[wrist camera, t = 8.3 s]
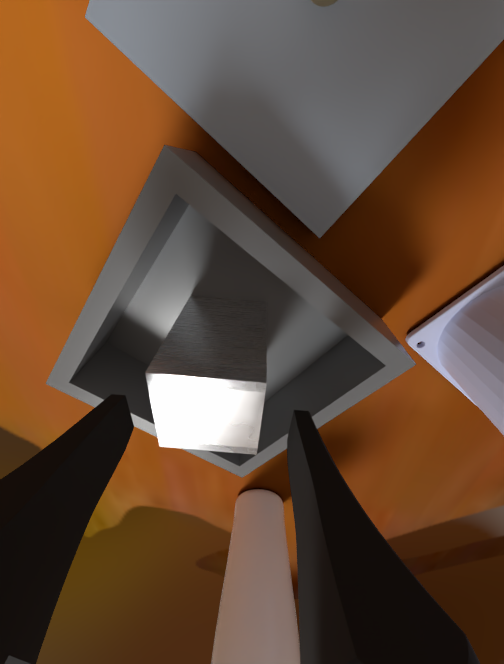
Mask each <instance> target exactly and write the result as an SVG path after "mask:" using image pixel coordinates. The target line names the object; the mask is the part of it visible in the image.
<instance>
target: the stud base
mask: <svg viewBox="0 0 504 664" xmlns="http://www.w3.org/2000/svg"><path fill="white" fill-rule="evenodd" d="M85 18H86V19H87V20H89V21H90V22H91V23H92V24H93V25H94V26H95V27H96V28H97V29H98V30H99V31H100V32H101V33H102V34H103V35H104V36H105V37H107V38H108V39H109V40H110V41H111V42H112V43H113V44H114V45H115V46H116V47H117V48H118V49H119V50H120V51H121V52H122V53H124V54H125V55H126V56H127V57H128V58H129V59H130V60H131V61H132V62H133V63H134V64H135V65H136V66H137V67H138V68H139V69H140V70H142V71H143V72H144V73H145V74H146V75H147V76H148V77H149V78H150V79H151V80H152V81H153V82H154V83H155V84H156V85H157V86H159V87H160V88H161V89H162V90H163V91H164V92H165V93H166V94H167V95H168V96H169V97H170V98H171V99H172V100H173V101H174V102H176V103H177V104H178V105H179V106H180V107H181V108H182V109H183V110H184V111H185V112H186V113H187V114H188V115H189V116H190V117H191V118H192V119H194V120H195V121H196V122H197V123H198V124H199V125H200V126H201V127H202V128H203V129H204V130H205V131H206V132H207V133H208V134H209V135H211V136H212V137H213V138H214V139H215V140H216V141H217V142H218V143H219V144H220V145H221V146H222V147H223V148H224V149H225V150H226V151H228V152H229V153H230V154H231V155H232V156H233V157H234V158H235V159H236V160H237V161H238V162H239V163H240V164H241V165H242V166H243V167H244V168H246V169H247V170H248V171H249V172H250V173H251V174H252V175H253V176H254V177H255V178H256V179H257V180H258V181H259V182H260V183H261V184H263V185H264V186H265V187H266V188H267V189H268V190H269V191H270V192H271V193H272V194H273V195H274V196H275V197H276V198H277V199H278V200H280V201H281V202H282V203H283V204H284V205H285V206H286V207H287V208H288V209H289V210H290V211H291V212H292V213H293V214H294V215H295V216H296V217H298V218H299V219H300V220H301V221H302V222H303V223H304V224H305V225H306V226H307V227H308V228H309V229H310V230H311V231H312V232H313V233H315V234H316V235H317V236H318V237H319V238H321V237H322V235H323V234H324V233H325V232H326V231H327V230H328V229H329V228H330V227H331V226H332V225H333V224H334V222H335V221H336V220H337V219H338V218H339V217H340V216H341V215H342V214H343V213H344V212H345V211H346V209H347V208H348V207H349V206H350V205H351V204H352V203H353V202H354V201H355V200H356V199H357V198H358V197H359V195H360V194H361V193H362V192H363V191H364V190H365V189H366V188H367V187H368V186H369V185H370V184H371V182H372V181H373V180H374V179H375V178H376V177H377V176H378V175H379V174H380V173H381V172H382V171H383V169H384V168H385V167H386V166H387V165H388V164H389V163H390V162H391V161H392V160H393V159H394V158H395V156H396V155H397V154H398V153H399V152H400V151H401V150H402V149H403V148H404V147H405V146H406V145H407V144H408V142H409V141H410V140H411V139H412V138H413V137H414V136H415V135H416V134H417V133H418V132H419V131H420V129H421V128H422V127H423V126H424V125H425V124H426V123H427V122H428V121H429V120H430V119H431V118H432V116H433V115H434V114H435V113H436V112H437V111H438V110H439V109H440V108H441V107H442V106H443V105H444V103H445V102H446V101H447V100H448V99H449V98H450V97H451V96H452V95H453V94H454V93H455V92H456V90H457V89H458V88H459V87H460V86H461V85H462V84H463V83H464V82H465V81H466V80H467V79H468V78H469V76H470V75H471V74H472V73H473V72H474V71H475V70H476V69H477V68H478V67H479V66H480V65H481V63H482V62H483V61H484V60H485V59H486V58H487V57H488V56H489V55H490V54H491V53H492V52H493V50H494V49H495V48H496V47H497V46H498V45H499V44H500V43H501V42H502V41H503V40H504V0H90V1H89V4H88V8H87V11H86V15H85Z"/></svg>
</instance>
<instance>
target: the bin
mask: <svg viewBox="0 0 504 664" xmlns="http://www.w3.org/2000/svg"><path fill="white" fill-rule="evenodd" d="M190 295H192V296H203V297H215V298H226V299H238V300H250V301H261V302H266V326H267V385H266V392H265V399H264V406H263V413H262V420H261V427H260V435H259V442H258V449H257V455H254V454H242V453H231V452H219V451H207V450H196V449H184V448H181V449H183V450H185V451H188V452H190V453H192V454H194V455H196V456H198V457H200V458H202V459H204V460H206V461H209V462H211V463H213V464H215V465H217V466H219V467H221V468H223V469H225V470H227V471H229V472H232V473H234V474H236V475H238V476H240V477H244V476H245V475H247V474H248V473H250V472H251V471H253V470H254V469H256V468H258V467H259V466H261V465H262V464H264V463H265V462H267V461H268V460H270V459H271V458H273V457H274V456H276V455H278V454H279V453H281V452H282V451H284V450H285V449H287V438H288V433H289V429H290V425H291V420H292V416H293V411H294V410H303V411H309V412H310V414H311V416H312V419H313V421H314V423H315V426H316V428H317V429H318V428H319V427H321V426H322V425H324V424H325V423H327V422H328V421H330V420H331V419H333V418H334V417H336V416H338V415H339V414H341V413H342V412H344V411H345V410H347V409H348V408H350V407H351V406H353V405H354V404H356V403H357V402H359V401H361V400H362V399H364V398H365V397H367V396H368V395H370V394H371V393H373V392H374V391H376V390H377V389H379V388H381V387H382V386H384V385H385V384H387V383H388V382H390V381H391V380H393V379H394V378H396V377H397V376H399V375H401V374H402V373H404V372H405V371H407V370H408V369H410V368H411V367H413V366H414V365H416V363H415V362H414V361H413V360H412V358H411V357H410V356H409V354H408V353H407V352H406V350H405V349H404V348H403V346H402V345H401V344H400V342H399V341H398V340H397V339H396V337H395V336H394V335H393V333H392V332H391V331H390V329H389V328H388V327H387V325H386V324H385V323H384V322H383V320H382V319H381V318H380V317H379V316H378V315H377V314H375V313H374V312H373V311H372V310H371V309H370V308H369V307H368V306H367V305H365V304H364V303H363V302H362V301H361V300H360V299H359V298H358V297H357V296H355V295H354V294H353V293H352V292H351V291H350V290H349V289H348V288H347V287H345V286H344V285H343V284H342V283H341V282H340V281H339V280H338V279H337V278H335V277H334V276H333V275H332V274H331V273H330V272H329V271H328V270H327V269H325V268H324V267H323V266H322V265H321V264H320V263H319V262H318V261H317V260H315V259H314V258H313V257H312V256H311V255H310V254H309V253H308V252H307V251H305V250H304V249H303V248H302V247H301V246H300V245H299V244H298V243H297V242H295V241H294V240H293V239H292V238H291V237H290V236H289V235H288V234H287V233H285V232H284V231H283V230H282V229H281V228H280V227H279V226H278V225H277V224H275V223H274V222H273V221H272V220H271V219H270V218H269V217H268V216H267V215H265V214H264V213H263V212H262V211H261V210H260V209H259V208H258V207H257V206H255V205H254V204H253V203H252V202H251V201H250V200H249V199H248V198H247V197H245V196H244V195H243V194H242V193H241V192H240V191H239V190H238V189H237V188H236V187H234V186H233V185H232V184H231V183H230V182H229V181H228V180H227V179H226V178H224V177H223V176H222V175H221V174H220V173H219V172H218V171H217V170H216V169H214V168H213V167H212V166H211V165H210V164H209V163H208V162H207V161H206V160H204V159H203V158H202V157H201V156H200V155H199V154H198V153H197V152H194V151H190V150H185V149H181V148H176V147H172V146H167V145H164V147H163V149H162V151H161V153H160V155H159V157H158V159H157V161H156V163H155V165H154V167H153V169H152V171H151V173H150V175H149V177H148V179H147V181H146V183H145V185H144V187H143V189H142V191H141V193H140V195H139V197H138V199H137V201H136V203H135V205H134V207H133V209H132V211H131V213H130V215H129V217H128V219H127V221H126V223H125V225H124V227H123V229H122V231H121V233H120V235H119V237H118V239H117V241H116V243H115V245H114V247H113V249H112V251H111V253H110V255H109V257H108V259H107V261H106V263H105V265H104V267H103V269H102V271H101V273H100V276H99V278H98V280H97V282H96V284H95V286H94V288H93V290H92V292H91V294H90V296H89V298H88V300H87V302H86V304H85V306H84V308H83V310H82V312H81V314H80V316H79V318H78V320H77V322H76V324H75V326H74V328H73V330H72V332H71V334H70V336H69V338H68V340H67V342H66V344H65V346H64V348H63V350H62V352H61V354H60V356H59V358H58V360H57V362H56V364H55V366H54V368H53V370H52V372H51V374H50V376H49V378H48V380H47V382H46V384H47V385H49V386H51V387H54V388H56V389H58V390H60V391H62V392H64V393H66V394H68V395H70V396H72V397H74V398H77V399H79V400H81V401H83V402H85V403H87V404H89V405H91V406H93V407H96V406H98V405H99V404H100V403H101V402H102V401H104V400H105V399H106V398H107V397H109V396H110V395H111V394H117V395H126V399H127V402H128V406H129V410H130V413H131V417H132V421H133V424H134V426H135V427H137V428H139V429H141V430H144V431H146V432H148V433H150V434H152V435H154V436H156V437H158V436H157V431H156V426H155V421H154V415H153V410H152V405H151V400H150V395H149V390H148V385H147V380H146V374H145V372H146V370H147V369H148V367H149V365H150V364H151V362H152V360H153V358H154V357H155V355H156V353H157V352H158V350H159V348H160V347H161V345H162V343H163V341H164V340H165V338H166V336H167V335H168V333H169V331H170V330H171V328H172V326H173V324H174V323H175V321H176V319H177V318H178V316H179V314H180V313H181V311H182V309H183V307H184V306H185V304H186V302H187V301H188V299H189V297H190Z"/></svg>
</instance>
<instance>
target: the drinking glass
mask: <svg viewBox="0 0 504 664" xmlns="http://www.w3.org/2000/svg"><path fill="white" fill-rule="evenodd" d="M211 664H300V645H299V636H298V628H297V620H296V612H295V604H294V596H293V588H292V580H291V572H290V564H289V556H288V548H287V539H286V531H285V522H284V506H283V501H282V499H281V498H280V497H279V496H278V495H277V494H276V493H274V492H271V491H268V490H263V489H252V490H248V491H245V492H243V493H242V494H240V495H239V496H238V498H237V500H236V504H235V514H234V522H233V529H232V535H231V542H230V548H229V554H228V560H227V566H226V572H225V579H224V585H223V591H222V597H221V603H220V609H219V615H218V621H217V628H216V633H215V640H214V647H213V655H212V663H211Z"/></svg>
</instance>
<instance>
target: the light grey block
mask: <svg viewBox="0 0 504 664" xmlns="http://www.w3.org/2000/svg"><path fill="white" fill-rule="evenodd" d="M145 374H146V380H147V385H148V390H149V395H150V400H151V405H152V410H153V415H154V421H155V426H156V431H157V436H158V441H159V446H160V447H172V448H184V449H196V450H207V451H219V452H231V453H242V454H254V455H257V449H258V442H259V435H260V427H261V420H262V413H263V406H264V399H265V392H266V385H267V326H266V302H261V301H250V300H238V299H226V298H215V297H203V296H192V295H190V297H189V299H188V301H187V302H186V304H185V306H184V307H183V309H182V311H181V313H180V314H179V316H178V318H177V319H176V321H175V323H174V324H173V326H172V328H171V330H170V331H169V333H168V335H167V336H166V338H165V340H164V341H163V343H162V345H161V347H160V348H159V350H158V352H157V353H156V355H155V357H154V358H153V360H152V362H151V364H150V365H149V367H148V369H147V370H146V372H145Z"/></svg>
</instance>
